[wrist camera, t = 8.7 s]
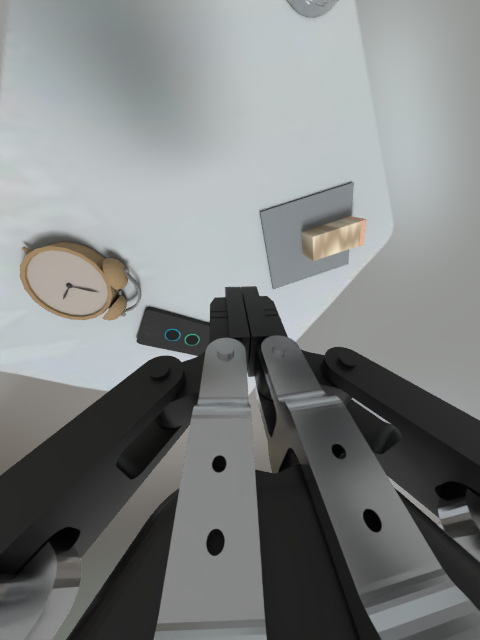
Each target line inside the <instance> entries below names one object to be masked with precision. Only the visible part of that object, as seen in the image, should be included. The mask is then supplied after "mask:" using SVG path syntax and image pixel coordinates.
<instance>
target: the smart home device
mask: <svg viewBox="0 0 480 640" xmlns="http://www.w3.org/2000/svg"><path fill="white" fill-rule="evenodd" d="M209 332H210V323H206V322H203V321H199V320H196V319H192V318H188V317H185V316H181V315H178V314H174V313H171V312H167V311H163V310H160V309H156V308H152V307H148V308H147V309H146V312H145V315H144V318H143V322H142V324H141V327H140V331H139V335H138V338H137V343H139V344H142V345H147V346H152V347H157V348H162V349H167V350H172V351H177V352H182V353H186V354H191V355H196V356H200V355H201V354H202V353H203V352H205V350H206V348H207V347H208V345H209Z"/></svg>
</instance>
